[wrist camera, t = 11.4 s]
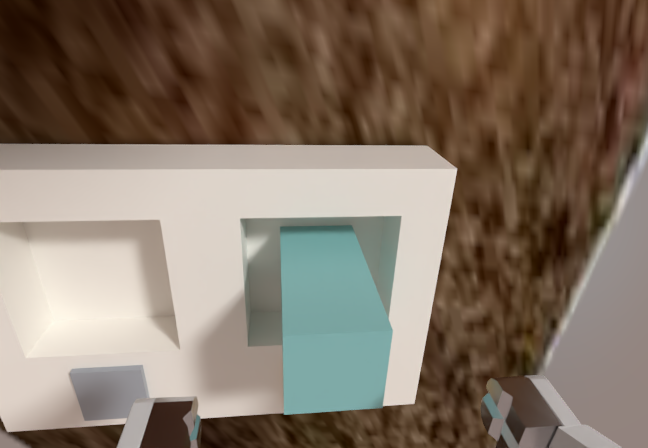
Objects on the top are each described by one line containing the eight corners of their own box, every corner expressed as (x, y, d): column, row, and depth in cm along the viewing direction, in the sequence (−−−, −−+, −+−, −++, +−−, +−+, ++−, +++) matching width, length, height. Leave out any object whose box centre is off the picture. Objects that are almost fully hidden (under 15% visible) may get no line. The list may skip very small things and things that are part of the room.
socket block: (-39, 143, 17) (-119, 173, 13) (427, 145, 19) (460, 171, 16) (44, 375, 22) (3, 437, 19) (396, 356, 25) (416, 408, 21)
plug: (279, 226, 19) (282, 336, 12) (351, 225, 19) (392, 330, 13) (281, 287, 20) (283, 414, 14) (347, 284, 21) (382, 407, 14)
